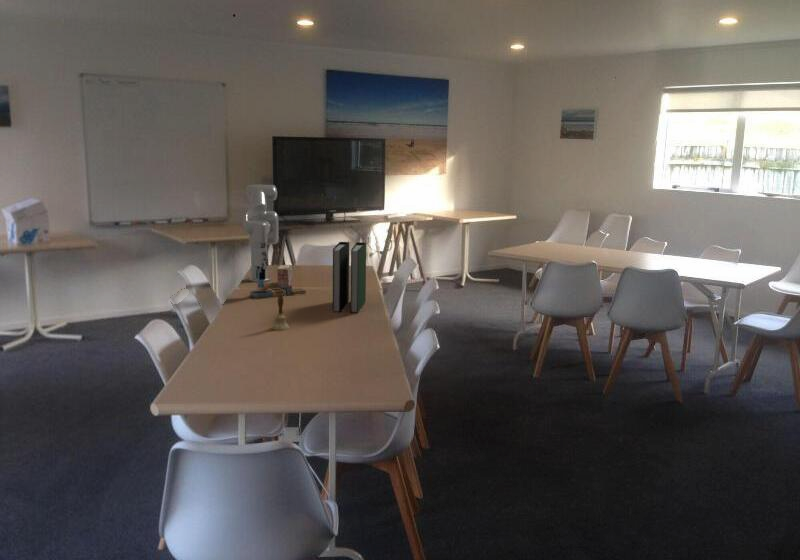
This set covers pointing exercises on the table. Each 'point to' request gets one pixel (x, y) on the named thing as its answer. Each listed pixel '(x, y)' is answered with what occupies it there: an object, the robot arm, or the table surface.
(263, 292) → the tray
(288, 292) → the gray rectangular block
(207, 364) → the table surface
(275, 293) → the socket
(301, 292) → the board
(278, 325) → the hand bell
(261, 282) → the dowel
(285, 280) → the stack of blocks
